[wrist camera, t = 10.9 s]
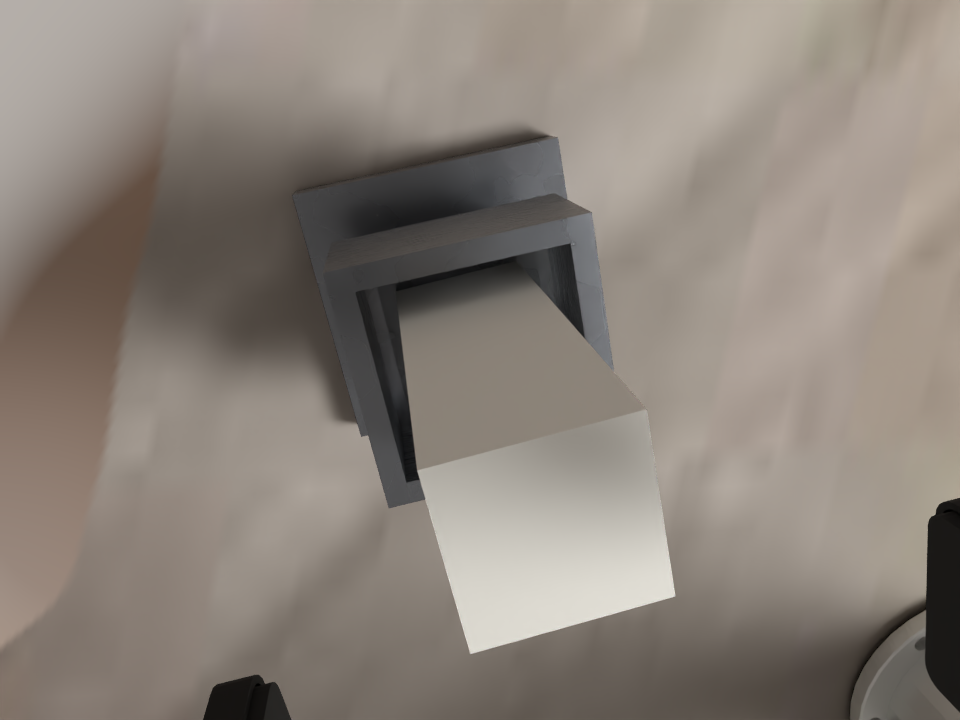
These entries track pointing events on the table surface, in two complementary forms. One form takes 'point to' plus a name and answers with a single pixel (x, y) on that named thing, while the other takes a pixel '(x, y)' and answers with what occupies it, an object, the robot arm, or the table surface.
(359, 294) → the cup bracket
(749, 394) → the table surface
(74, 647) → the table surface
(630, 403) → the rail post
